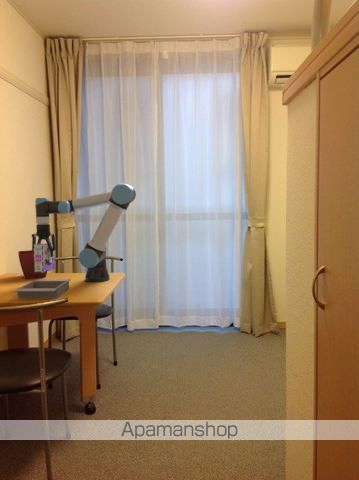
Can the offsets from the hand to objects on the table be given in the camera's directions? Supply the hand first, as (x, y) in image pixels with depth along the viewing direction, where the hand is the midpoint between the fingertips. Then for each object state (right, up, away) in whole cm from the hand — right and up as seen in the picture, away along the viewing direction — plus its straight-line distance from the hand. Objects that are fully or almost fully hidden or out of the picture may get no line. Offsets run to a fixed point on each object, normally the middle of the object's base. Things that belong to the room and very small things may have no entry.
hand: (44, 262), depth 224 cm
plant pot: (-16, -11, +27) cm, 33 cm away
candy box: (0, -5, 0) cm, 5 cm away
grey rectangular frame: (+8, -16, -22) cm, 28 cm away
